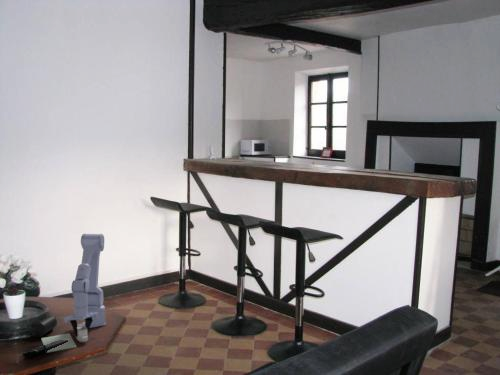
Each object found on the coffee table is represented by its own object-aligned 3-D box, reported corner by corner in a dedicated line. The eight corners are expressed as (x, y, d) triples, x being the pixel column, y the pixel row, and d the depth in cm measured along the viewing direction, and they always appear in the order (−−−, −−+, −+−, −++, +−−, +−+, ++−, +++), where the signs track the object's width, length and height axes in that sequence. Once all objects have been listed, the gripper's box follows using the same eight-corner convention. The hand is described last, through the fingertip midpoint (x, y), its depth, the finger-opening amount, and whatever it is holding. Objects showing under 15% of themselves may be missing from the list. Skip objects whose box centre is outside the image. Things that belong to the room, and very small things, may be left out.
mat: (69, 334, 232) (69, 333, 232) (76, 347, 218) (76, 346, 218) (41, 339, 226) (41, 338, 226) (46, 352, 212) (46, 351, 212)
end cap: (45, 338, 228) (45, 323, 227) (31, 336, 229) (30, 322, 228) (57, 329, 237) (57, 315, 237) (43, 328, 238) (43, 314, 238)
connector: (83, 333, 233) (83, 322, 233) (89, 343, 222) (89, 332, 222) (74, 335, 231) (74, 324, 231) (80, 345, 220) (80, 334, 220)
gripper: (65, 311, 219) (66, 341, 221) (99, 305, 226) (99, 335, 228) (62, 306, 225) (63, 335, 227) (95, 301, 232) (96, 329, 234)
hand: (81, 335), depth 228 cm, fingers closed on connector, 4 cm apart
